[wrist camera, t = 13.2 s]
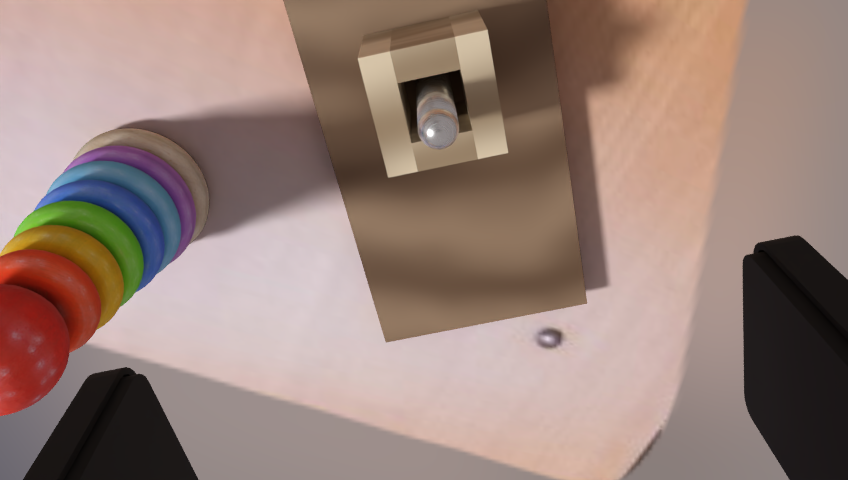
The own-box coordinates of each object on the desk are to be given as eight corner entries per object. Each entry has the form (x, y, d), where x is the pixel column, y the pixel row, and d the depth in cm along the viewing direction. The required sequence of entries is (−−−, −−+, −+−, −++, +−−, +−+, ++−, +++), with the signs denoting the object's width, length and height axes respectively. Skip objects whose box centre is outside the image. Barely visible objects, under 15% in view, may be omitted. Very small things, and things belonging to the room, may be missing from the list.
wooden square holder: (363, 35, 37) (357, 58, 32) (477, 9, 36) (487, 29, 32) (390, 143, 40) (388, 177, 35) (496, 120, 39) (508, 152, 35)
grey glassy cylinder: (412, 67, 38) (413, 120, 30) (445, 59, 37) (456, 110, 30) (419, 99, 38) (423, 159, 31) (452, 92, 38) (464, 150, 30)
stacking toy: (211, 131, 41) (75, 313, 24) (214, 253, 44) (98, 485, 28) (68, 116, 40) (-172, 293, 23) (83, 241, 44) (-116, 471, 27)
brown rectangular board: (285, -12, 37) (281, -8, 36) (532, -71, 36) (537, -69, 35) (386, 329, 47) (386, 342, 46) (581, 291, 46) (586, 303, 45)
